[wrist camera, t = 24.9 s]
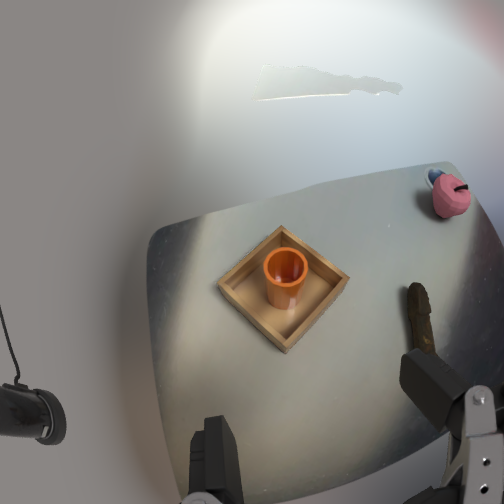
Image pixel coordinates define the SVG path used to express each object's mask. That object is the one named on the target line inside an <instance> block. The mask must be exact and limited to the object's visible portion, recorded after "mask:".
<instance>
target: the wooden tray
mask: <svg viewBox="0 0 504 504" xmlns="http://www.w3.org/2000/svg"><path fill="white" fill-rule="evenodd" d="M281 247H290V248H293V249H296V250H298V251H299V252H300V253H302V254H303V255H304V257H305V258H306V260H307V263H308V272H307V277H306V282H305V286H304V290H303V295H302V298H301V300H300V302H299V303H298V304H297V305H296V306H295V307H293V308H291V309H288V310H281V309H277V308H275V307H273V306H272V305H271V304H270V303H269V301H268V299H267V296H266V289H265V279H264V261H265V259H266V257H267V255H269V254H270V253H271V252H272V251H273V250H276V249H278V248H281ZM349 279H350V277H349V276H347V275H346V274H345V273H343V272H342V271H341V270H339V269H338V268H337V267H336V266H334V265H333V264H332V263H331V262H329V261H328V260H327V259H325V258H324V257H323V256H321V255H320V254H319V253H318V252H316V251H315V250H314V249H312V248H311V247H310V246H308V245H307V244H306V243H304V242H303V241H302V240H300V239H299V238H298V237H296V236H295V235H294V234H292V233H291V232H290V231H288V230H287V229H286V228H284V227H283V226H282V225H281V226H280V227H279V228H277V229H276V230H275V231H274V232H273V233H272V234H271V235H270V236H268V237H267V238H266V239H265V240H264V241H263V242H262V243H261V244H259V245H258V246H257V247H256V248H255V249H254V250H253V251H252V252H250V253H249V254H248V255H247V256H246V257H245V258H244V259H243V260H241V261H240V262H239V263H238V264H237V265H236V266H235V267H234V268H233V269H231V270H230V271H229V272H228V273H227V274H226V275H225V276H224V277H222V278H221V279H220V280H219V281H218V282H217V284H218V286H219V288H220V290H221V292H222V294H223V296H224V297H225V298H226V299H227V300H228V301H229V302H230V303H231V304H232V305H233V306H234V307H235V308H237V309H238V310H239V311H240V312H241V313H242V314H243V315H244V316H245V317H246V318H247V319H248V320H249V321H250V322H251V323H252V324H253V325H254V326H255V327H256V328H258V329H259V330H260V331H261V332H262V333H263V334H264V335H265V336H266V337H267V338H268V339H269V340H270V341H272V342H273V343H274V344H275V345H276V346H277V347H278V348H279V349H280V350H281V351H283V352H284V353H285V354H286V353H287V352H288V351H289V350H290V349H291V348H292V347H293V346H294V345H295V344H296V343H297V342H298V341H299V340H300V338H301V337H302V336H303V335H304V334H305V333H306V332H307V331H308V330H309V329H310V328H311V327H312V326H313V324H314V323H315V322H316V321H317V320H318V319H319V318H320V317H321V316H322V314H323V313H324V312H325V311H326V310H327V309H328V308H329V307H330V305H331V304H332V303H333V302H334V301H335V300H336V298H337V297H338V296H339V295H340V294H341V293H342V291H343V290H344V288H345V286H346V284H347V282H348V281H349Z"/></svg>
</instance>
